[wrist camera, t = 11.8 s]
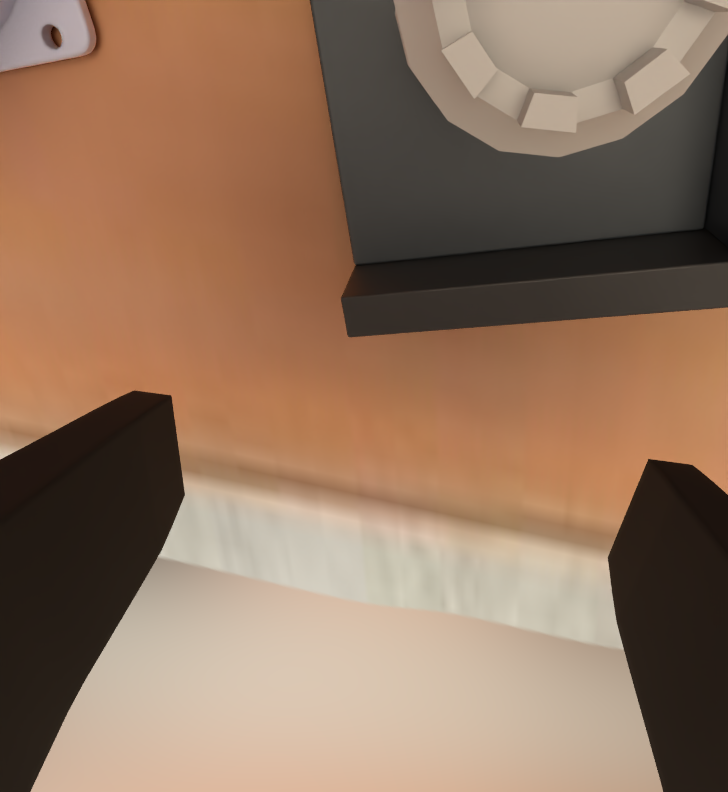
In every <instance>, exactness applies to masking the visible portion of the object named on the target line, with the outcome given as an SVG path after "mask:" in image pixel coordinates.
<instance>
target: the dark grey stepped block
mask: <svg viewBox="0 0 728 792" xmlns="http://www.w3.org/2000/svg"><path fill="white" fill-rule="evenodd" d="M310 4H311V9H312V15H313V21H314V27H315V33H316V39H317V45H318V51H319V57H320V63H321V69H322V75H323V81H324V87H325V93H326V99H327V105H328V111H329V117H330V122H331V128H332V134H333V140H334V146H335V152H336V158H337V164H338V170H339V176H340V182H341V188H342V194H343V200H344V206H345V212H346V218H347V224H348V229H349V235H350V241H351V247H352V253H353V259H354V263H355V265H356V266H355V268H354V270H353V272H352V275H351V277H350V279H349V281H348V284H347V286H346V288H345V290H344V293H343V295H342V297H341V302H342V307H343V313H344V318H345V323H346V329H347V334H348V337H359V336H372V335H385V334H397V333H410V332H422V331H435V330H448V329H460V328H473V327H486V326H498V325H511V324H524V323H536V322H549V321H562V320H574V319H587V318H599V317H612V316H625V315H637V314H650V313H663V312H675V311H688V310H701V309H713V308H726V307H728V35H727V36H726V37H725V39H724V40H723V42H722V43H721V44H720V46H719V47H718V48H717V50H716V51H715V52H714V54H713V55H712V56H711V58H710V59H709V60H708V62H707V63H706V65H705V66H704V67H703V69H702V70H701V71H700V73H699V74H698V75H697V77H696V78H695V79H694V81H693V82H692V83H691V85H690V86H689V88H688V89H687V90H686V92H685V93H684V94H683V95H682V96H680V97H679V98H678V99H676V100H675V101H674V102H672V103H671V104H669V105H668V106H667V107H665V108H664V109H663V110H661V111H660V112H658V113H657V114H656V115H654V116H653V117H652V118H650V119H649V120H647V121H646V122H645V123H643V124H642V125H641V126H639V127H638V128H636V129H635V130H634V131H632V132H631V133H630V134H628V135H627V136H625V137H624V138H623V139H619V140H616V141H613V142H609V143H606V144H602V145H599V146H596V147H592V148H589V149H586V150H582V151H579V152H575V153H572V154H569V155H565V156H562V157H551V156H542V155H532V154H523V153H513V152H504V151H498V150H496V149H495V148H493V147H491V146H490V145H488V144H486V143H485V142H483V141H481V140H480V139H478V138H476V137H474V136H473V135H471V134H469V133H468V132H466V131H464V130H463V129H461V128H459V127H458V126H456V125H454V124H452V123H451V122H449V121H448V120H447V119H446V118H445V116H444V115H443V113H442V112H441V111H440V109H439V108H438V106H437V105H436V104H435V103H434V101H433V100H432V99H431V97H430V96H429V94H428V93H427V92H426V90H425V89H424V87H423V86H422V84H421V83H420V82H419V80H418V79H417V77H416V76H415V75H414V73H413V72H412V70H411V69H410V68H409V66H408V64H407V60H406V56H405V52H404V48H403V44H402V40H401V36H400V32H399V28H398V24H397V20H396V16H395V5H394V1H393V0H310Z"/></svg>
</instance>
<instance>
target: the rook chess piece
mask: <svg viewBox="0 0 728 792" xmlns="http://www.w3.org/2000/svg"><path fill="white" fill-rule="evenodd" d="M393 1H394V5H395V16H396V20H397V24H398V28H399V32H400V36H401V40H402V44H403V48H404V52H405V56H406V60H407V64H408V66H409V68H410V69H411V70H412V72H413V73H414V75H415V76H416V77H417V79H418V80H419V82H420V83H421V84H422V86H423V87H424V89H425V90H426V92H427V93H428V94H429V96H430V97H431V99H432V100H433V101H434V103H435V104H436V105H437V106H438V108H439V109H440V111H441V112H442V113H443V115H444V116H445V118H446V119H447V120H448V121H449V122H451V123H452V124H454V125H456V126H458V127H459V128H461V129H463V130H464V131H466V132H468V133H469V134H471V135H473V136H474V137H476V138H478V139H480V140H481V141H483V142H485V143H486V144H488V145H490V146H491V147H493V148H495V149H496V150H498V151H504V152H513V153H523V154H532V155H542V156H551V157H562V156H565V155H569V154H572V153H575V152H579V151H582V150H586V149H589V148H592V147H596V146H599V145H602V144H606V143H609V142H613V141H616V140H619V139H623V138H624V137H625V136H627V135H628V134H630V133H631V132H632V131H634V130H635V129H636V128H638V127H639V126H641V125H642V124H643V123H645V122H646V121H647V120H649V119H650V118H652V117H653V116H654V115H656V114H657V113H658V112H660V111H661V110H663V109H664V108H665V107H667V106H668V105H669V104H671V103H672V102H674V101H675V100H676V99H678V98H679V97H680V96H682V95H683V94H684V93H685V92H686V90H687V89H688V88H689V86H690V85H691V83H692V82H693V81H694V79H695V78H696V77H697V75H698V74H699V73H700V71H701V70H702V69H703V67H704V66H705V65H706V63H707V62H708V60H709V59H710V58H711V56H712V55H713V54H714V52H715V51H716V50H717V48H718V47H719V46H720V44H721V43H722V42H723V40H724V39H725V37H726V36H727V35H728V0H393Z"/></svg>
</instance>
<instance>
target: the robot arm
mask: <svg viewBox="0 0 728 792" xmlns="http://www.w3.org/2000/svg"><path fill="white" fill-rule="evenodd" d="M53 26H55V27H56V28H57V29H58V30H59V32H60V34H61V37H62V43H61V46H60V47H58V46H57V45H55V43H54V42H53V40H52V38H51V29H52V27H53ZM95 44H96V33H95V28H94V25H93V22H92V19H91V16H90V13H89V10H88V7H87V4H86V1H85V0H0V72H4V71H9V70H14V69H19V68H24V67H29V66H34V65H40V64H45V63H50V62H55V61H60V60H65V59H70V58H76V57H81V56H85V55H87V54H89V53H91V52H92V50H93V49H94V48H95ZM184 496H185V493H184V485H183V478H182V471H181V463H180V456H179V448H178V441H177V434H176V426H175V419H174V412H173V404H172V397H171V395H163V394H156V393H148V392H141V391H132V392H130V393H128V394H125V395H123V396H121V397H119V398H117V399H115V400H113V401H111V402H109V403H107V404H105V405H103V406H101V407H99V408H97V409H95V410H93V411H91V412H89V413H88V414H86V415H84V416H82V417H80V418H78V419H76V420H74V421H73V422H71V423H69V424H67V425H65V426H63V427H61V428H59V429H58V430H56V431H54V432H52V433H50V434H48V435H46V436H44V437H42V438H41V439H39V440H37V441H35V442H33V443H31V444H29V445H27V446H25V447H24V448H22V449H20V450H18V451H16V452H14V453H12V454H10V455H8V456H6V457H4V458H3V459H1V460H0V792H30V791H31V789H32V787H33V785H34V782H35V780H36V778H37V776H38V774H39V772H40V770H41V768H42V766H43V763H44V761H45V759H46V757H47V755H48V753H49V751H50V749H51V746H52V744H53V742H54V740H55V738H56V736H57V734H58V732H59V730H60V727H61V725H62V723H63V721H64V719H65V717H66V715H67V713H68V711H69V709H70V707H71V705H72V703H73V701H74V700H75V698H76V696H77V694H78V692H79V690H80V689H81V687H82V684H83V683H84V681H85V679H86V678H87V676H88V674H89V673H90V671H91V669H92V668H93V666H94V664H95V663H96V661H97V659H98V657H99V656H100V654H101V652H102V651H103V649H104V647H105V646H106V644H107V642H108V641H109V639H110V637H111V636H112V634H113V632H114V630H115V629H116V627H117V625H118V624H119V622H120V620H121V619H122V617H123V615H124V614H125V612H126V610H127V609H128V607H129V605H130V604H131V602H132V600H133V598H134V597H135V595H136V593H137V592H138V590H139V588H140V587H141V585H142V583H143V581H144V580H145V578H146V576H147V575H148V573H149V571H150V569H151V568H152V566H153V564H154V563H155V561H156V559H157V557H158V555H159V554H160V552H161V550H162V548H163V546H164V543H165V541H166V539H167V537H168V534H169V532H170V530H171V527H172V525H173V523H174V520H175V518H176V515H177V513H178V510H179V508H180V505H181V503H182V500H183V498H184ZM608 562H609V570H610V578H611V586H612V594H613V601H614V607H615V614H616V620H617V625H618V628H619V632H620V636H621V640H622V644H623V647H624V651H625V654H626V658H627V662H628V666H629V669H630V673H631V676H632V680H633V684H634V688H635V691H636V694H637V698H638V702H639V705H640V709H641V712H642V716H643V720H644V723H645V727H646V730H647V734H648V737H649V741H650V744H651V748H652V752H653V755H654V759H655V762H656V766H657V770H658V773H659V777H660V780H661V784H662V788H663V792H728V495H727V494H726V493H725V492H724V491H723V490H722V489H721V488H719V487H718V486H717V485H716V484H715V483H714V482H713V481H711V480H710V479H709V478H708V477H707V476H705V475H704V474H703V473H702V472H701V471H699V470H698V469H697V468H695V467H694V466H693V465H689V464H681V463H674V462H666V461H659V460H651V459H648V462H647V464H646V466H645V469H644V471H643V474H642V476H641V479H640V481H639V483H638V486H637V488H636V491H635V493H634V495H633V498H632V500H631V503H630V505H629V508H628V510H627V512H626V515H625V517H624V520H623V522H622V525H621V527H620V529H619V532H618V534H617V537H616V539H615V541H614V544H613V546H612V549H611V551H610V554H609V556H608Z"/></svg>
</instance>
